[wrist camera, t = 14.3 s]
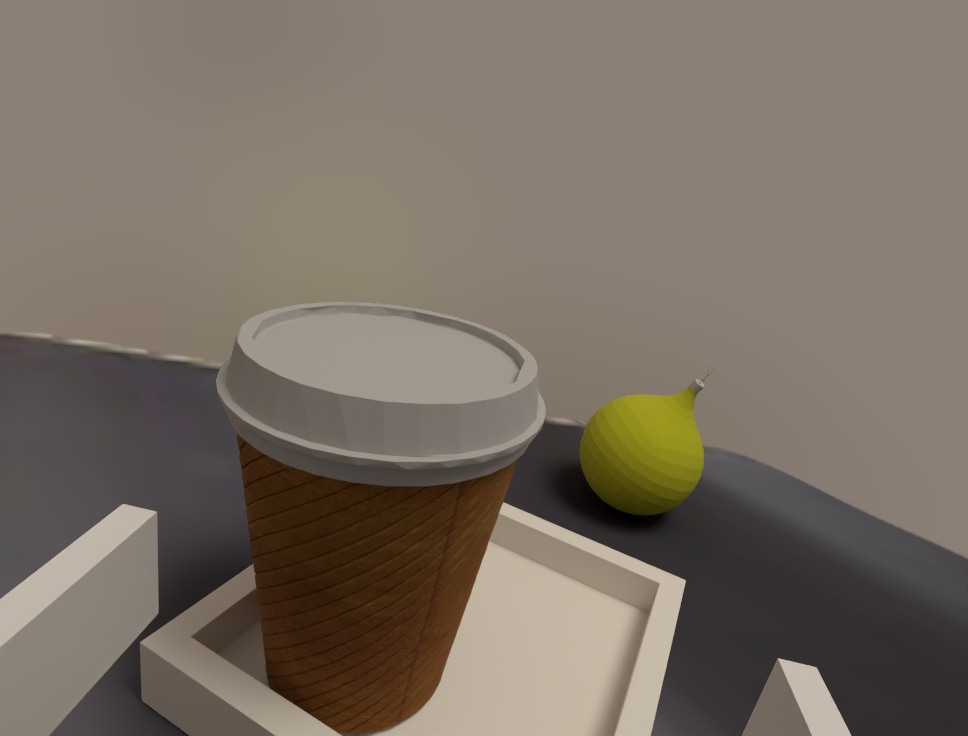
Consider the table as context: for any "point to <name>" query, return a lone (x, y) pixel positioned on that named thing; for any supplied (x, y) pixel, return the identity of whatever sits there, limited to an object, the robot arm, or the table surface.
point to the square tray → (457, 649)
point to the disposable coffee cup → (371, 492)
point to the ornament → (644, 451)
